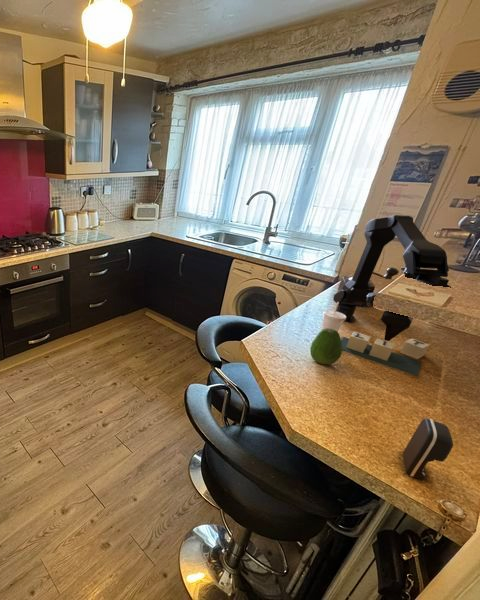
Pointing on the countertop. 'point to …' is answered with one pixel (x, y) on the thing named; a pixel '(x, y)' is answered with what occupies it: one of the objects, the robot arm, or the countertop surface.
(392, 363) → the word mat
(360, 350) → the tile
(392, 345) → the tile
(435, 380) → the countertop surface
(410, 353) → the tile
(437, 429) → the battery charger
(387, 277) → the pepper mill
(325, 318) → the smoothie
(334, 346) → the avocado
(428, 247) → the robot arm
